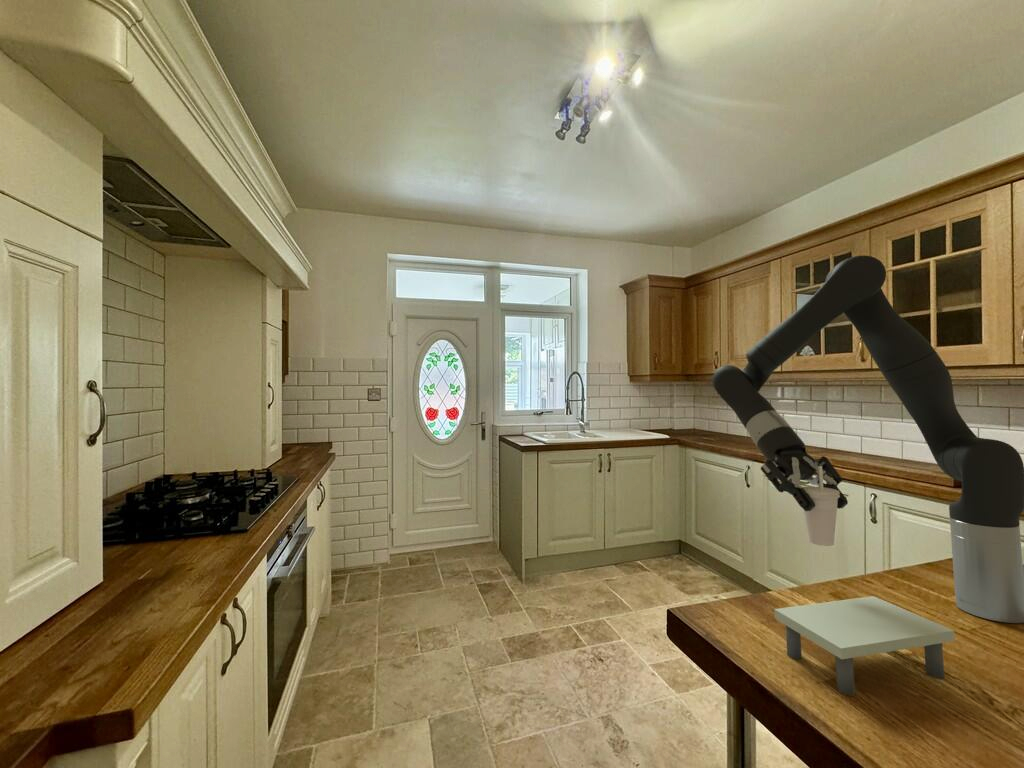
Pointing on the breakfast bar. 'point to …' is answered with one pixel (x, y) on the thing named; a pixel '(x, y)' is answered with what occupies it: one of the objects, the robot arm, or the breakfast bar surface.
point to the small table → (863, 633)
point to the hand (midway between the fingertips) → (827, 507)
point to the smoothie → (822, 513)
